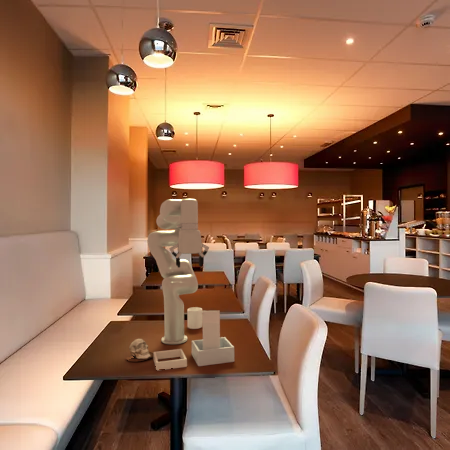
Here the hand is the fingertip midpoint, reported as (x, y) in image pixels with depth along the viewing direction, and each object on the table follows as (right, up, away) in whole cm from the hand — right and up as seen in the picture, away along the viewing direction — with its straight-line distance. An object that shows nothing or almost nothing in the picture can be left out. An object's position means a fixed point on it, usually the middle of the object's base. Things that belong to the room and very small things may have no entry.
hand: (189, 266), depth 153 cm
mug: (+1, -38, +40) cm, 55 cm away
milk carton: (+10, -38, -4) cm, 39 cm away
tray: (-7, -39, -9) cm, 40 cm away
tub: (+10, -38, -4) cm, 40 cm away
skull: (-21, -39, -2) cm, 44 cm away
